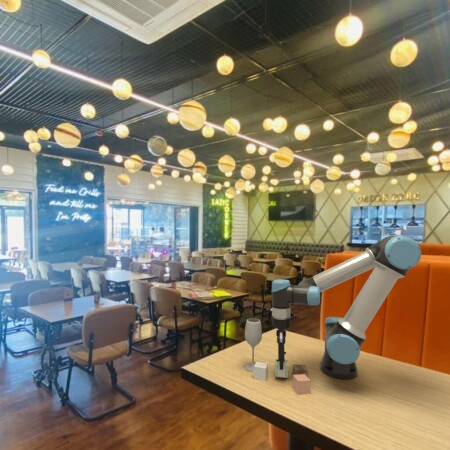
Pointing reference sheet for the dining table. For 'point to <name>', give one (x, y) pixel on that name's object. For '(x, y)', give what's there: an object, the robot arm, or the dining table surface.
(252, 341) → the wineglass
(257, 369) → the white cube
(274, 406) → the dining table surface
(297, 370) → the walnut cube
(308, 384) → the terracotta cube
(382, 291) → the robot arm
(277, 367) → the sage cube
